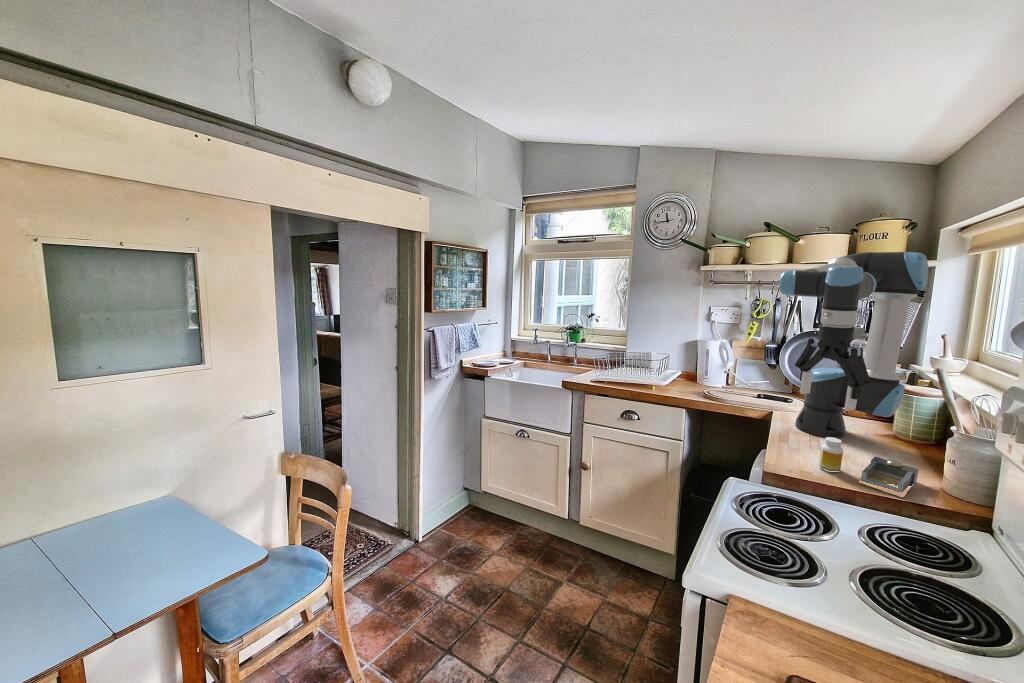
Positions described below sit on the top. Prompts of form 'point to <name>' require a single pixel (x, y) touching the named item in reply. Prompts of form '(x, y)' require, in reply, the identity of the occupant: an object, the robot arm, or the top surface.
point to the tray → (889, 474)
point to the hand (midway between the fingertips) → (826, 401)
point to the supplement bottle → (831, 454)
